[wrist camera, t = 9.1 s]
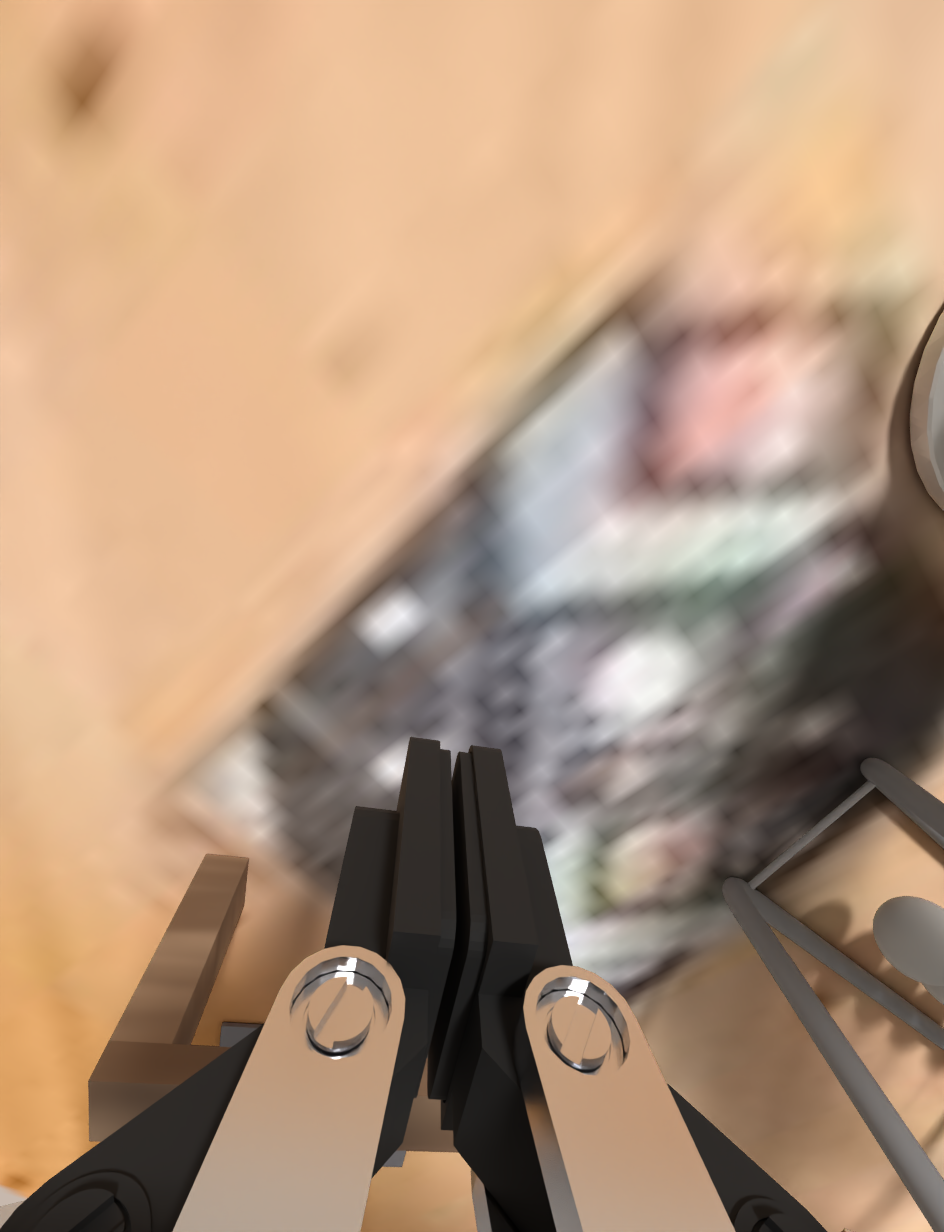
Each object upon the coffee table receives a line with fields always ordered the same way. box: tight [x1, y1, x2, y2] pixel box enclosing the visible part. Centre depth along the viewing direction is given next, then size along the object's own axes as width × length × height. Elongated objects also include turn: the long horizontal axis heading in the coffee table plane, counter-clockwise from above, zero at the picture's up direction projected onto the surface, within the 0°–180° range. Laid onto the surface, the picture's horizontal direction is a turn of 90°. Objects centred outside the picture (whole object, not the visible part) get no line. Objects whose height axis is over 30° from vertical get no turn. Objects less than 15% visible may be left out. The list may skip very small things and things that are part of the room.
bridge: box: [88, 854, 458, 1152], centre depth 23 cm, size 3×15×10 cm, turn 79°
